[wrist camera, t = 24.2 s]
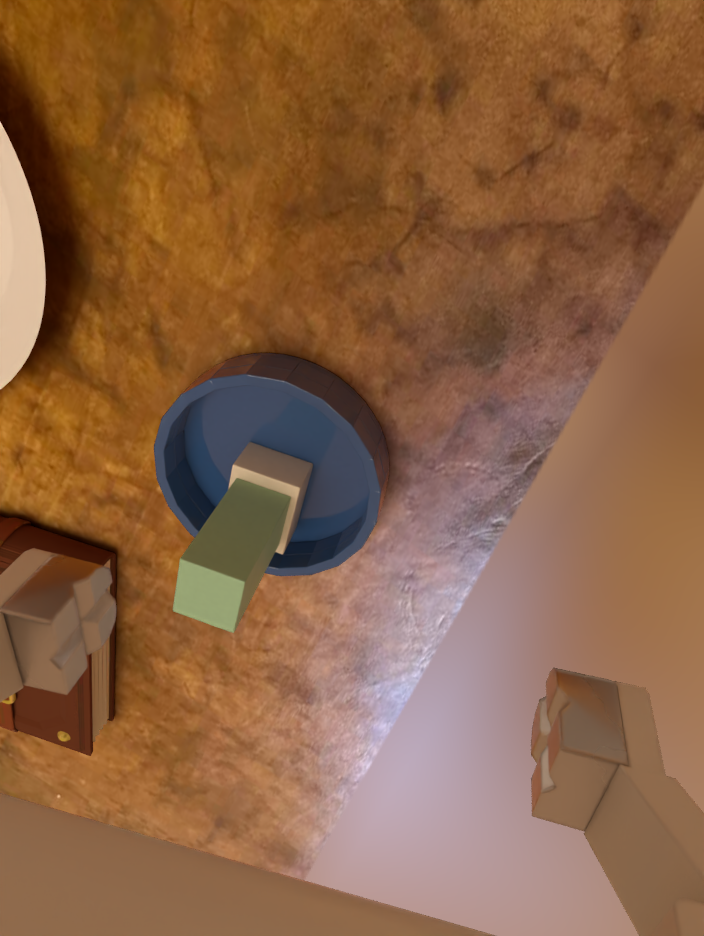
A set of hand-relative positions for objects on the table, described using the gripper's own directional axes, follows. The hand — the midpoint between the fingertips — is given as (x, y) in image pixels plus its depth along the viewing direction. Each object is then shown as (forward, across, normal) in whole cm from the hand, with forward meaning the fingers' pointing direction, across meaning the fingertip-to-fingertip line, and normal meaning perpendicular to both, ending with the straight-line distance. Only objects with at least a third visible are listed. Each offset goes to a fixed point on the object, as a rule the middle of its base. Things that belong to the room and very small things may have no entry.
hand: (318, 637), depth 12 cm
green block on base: (+26, +9, +16) cm, 32 cm away
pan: (+27, +9, +14) cm, 32 cm away
